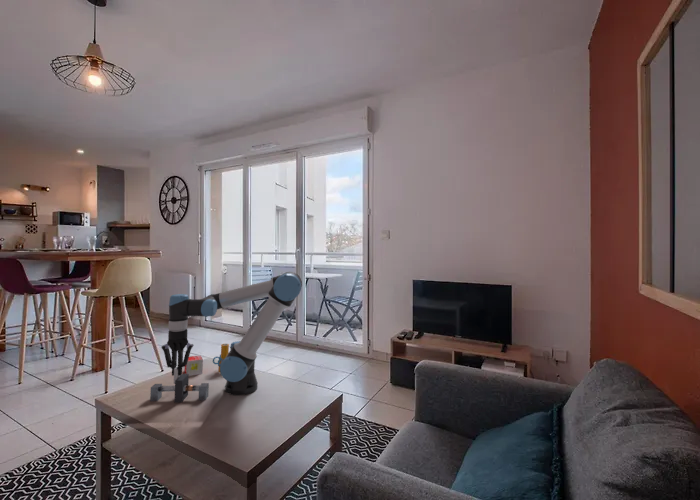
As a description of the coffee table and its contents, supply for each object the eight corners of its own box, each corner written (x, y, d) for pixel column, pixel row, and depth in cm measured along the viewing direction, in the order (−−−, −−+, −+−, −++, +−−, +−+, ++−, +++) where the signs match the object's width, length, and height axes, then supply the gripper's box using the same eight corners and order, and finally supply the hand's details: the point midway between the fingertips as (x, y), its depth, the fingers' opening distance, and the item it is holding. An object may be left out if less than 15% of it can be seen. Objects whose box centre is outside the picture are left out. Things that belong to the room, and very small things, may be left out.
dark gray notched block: (188, 394, 150) (188, 373, 150) (181, 402, 142) (182, 380, 142) (181, 394, 149) (181, 373, 149) (174, 402, 142) (175, 380, 142)
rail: (209, 397, 151) (209, 381, 151) (204, 405, 144) (204, 388, 144) (155, 398, 148) (156, 382, 148) (148, 406, 141) (149, 389, 141)
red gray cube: (186, 376, 174) (186, 361, 174) (184, 371, 181) (184, 357, 181) (202, 373, 179) (203, 359, 179) (200, 369, 185) (200, 355, 185)
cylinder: (226, 376, 176) (227, 348, 176) (208, 374, 178) (210, 346, 178) (238, 368, 188) (239, 342, 188) (222, 366, 190) (223, 340, 190)
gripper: (196, 327, 150) (195, 378, 150) (166, 327, 149) (164, 379, 149) (190, 331, 143) (189, 385, 143) (158, 331, 141) (157, 386, 141)
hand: (176, 382), depth 146 cm, fingers closed
